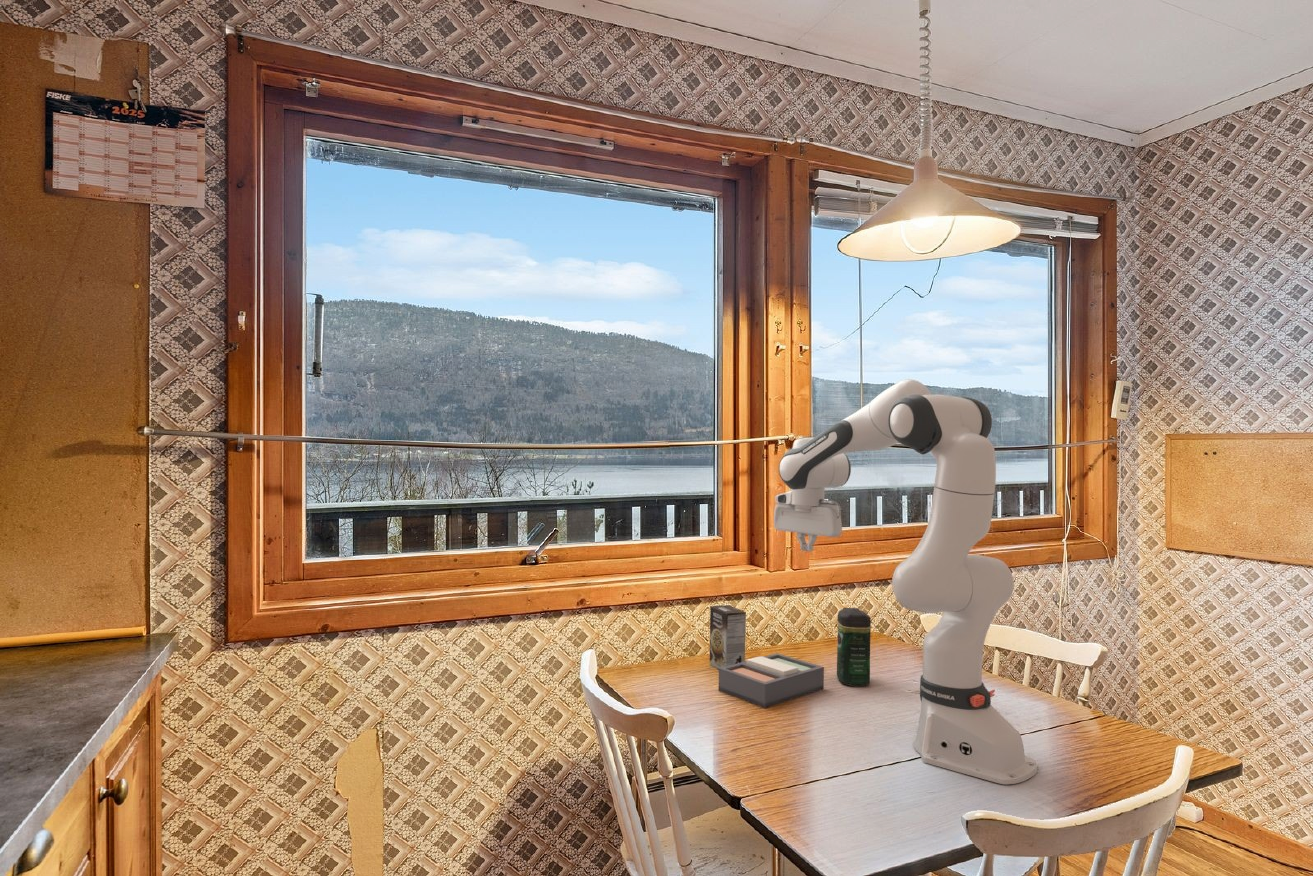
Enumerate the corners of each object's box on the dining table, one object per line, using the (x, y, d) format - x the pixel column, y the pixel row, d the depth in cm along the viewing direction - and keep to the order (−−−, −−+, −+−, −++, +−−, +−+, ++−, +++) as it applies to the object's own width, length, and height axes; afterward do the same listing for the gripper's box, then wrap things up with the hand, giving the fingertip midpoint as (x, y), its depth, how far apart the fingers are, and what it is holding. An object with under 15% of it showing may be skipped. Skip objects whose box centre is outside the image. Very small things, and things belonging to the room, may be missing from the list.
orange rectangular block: (779, 692, 174) (779, 680, 174) (764, 697, 171) (764, 684, 171) (741, 679, 183) (742, 667, 183) (727, 683, 180) (727, 671, 180)
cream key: (797, 680, 178) (797, 667, 178) (783, 684, 175) (783, 671, 175) (760, 667, 188) (760, 656, 188) (746, 671, 184) (746, 659, 184)
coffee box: (708, 664, 202) (709, 606, 202) (728, 662, 204) (729, 604, 205) (725, 674, 193) (725, 613, 194) (745, 671, 196) (746, 611, 196)
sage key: (815, 681, 183) (815, 669, 183) (801, 685, 179) (801, 673, 179) (777, 669, 192) (777, 658, 192) (764, 673, 189) (764, 661, 189)
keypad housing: (823, 689, 182) (823, 667, 182) (764, 708, 168) (765, 684, 169) (777, 673, 194) (777, 653, 194) (718, 690, 180) (718, 668, 180)
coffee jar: (873, 688, 184) (874, 614, 184) (841, 687, 184) (842, 613, 184) (863, 676, 194) (864, 605, 194) (833, 675, 194) (834, 605, 194)
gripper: (847, 500, 186) (846, 554, 186) (785, 495, 202) (785, 545, 202) (832, 501, 182) (831, 556, 182) (770, 496, 198) (769, 547, 198)
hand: (806, 550), depth 192 cm, fingers closed
